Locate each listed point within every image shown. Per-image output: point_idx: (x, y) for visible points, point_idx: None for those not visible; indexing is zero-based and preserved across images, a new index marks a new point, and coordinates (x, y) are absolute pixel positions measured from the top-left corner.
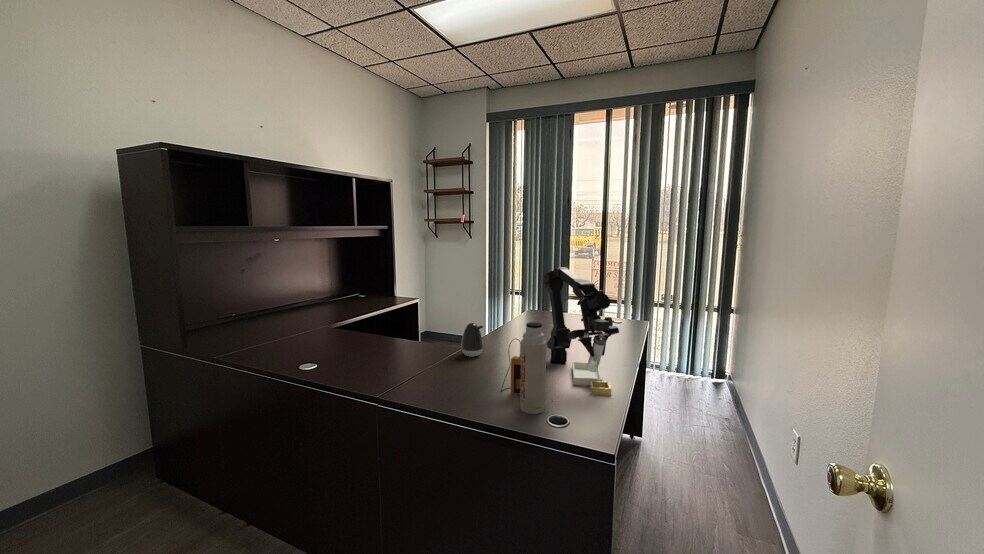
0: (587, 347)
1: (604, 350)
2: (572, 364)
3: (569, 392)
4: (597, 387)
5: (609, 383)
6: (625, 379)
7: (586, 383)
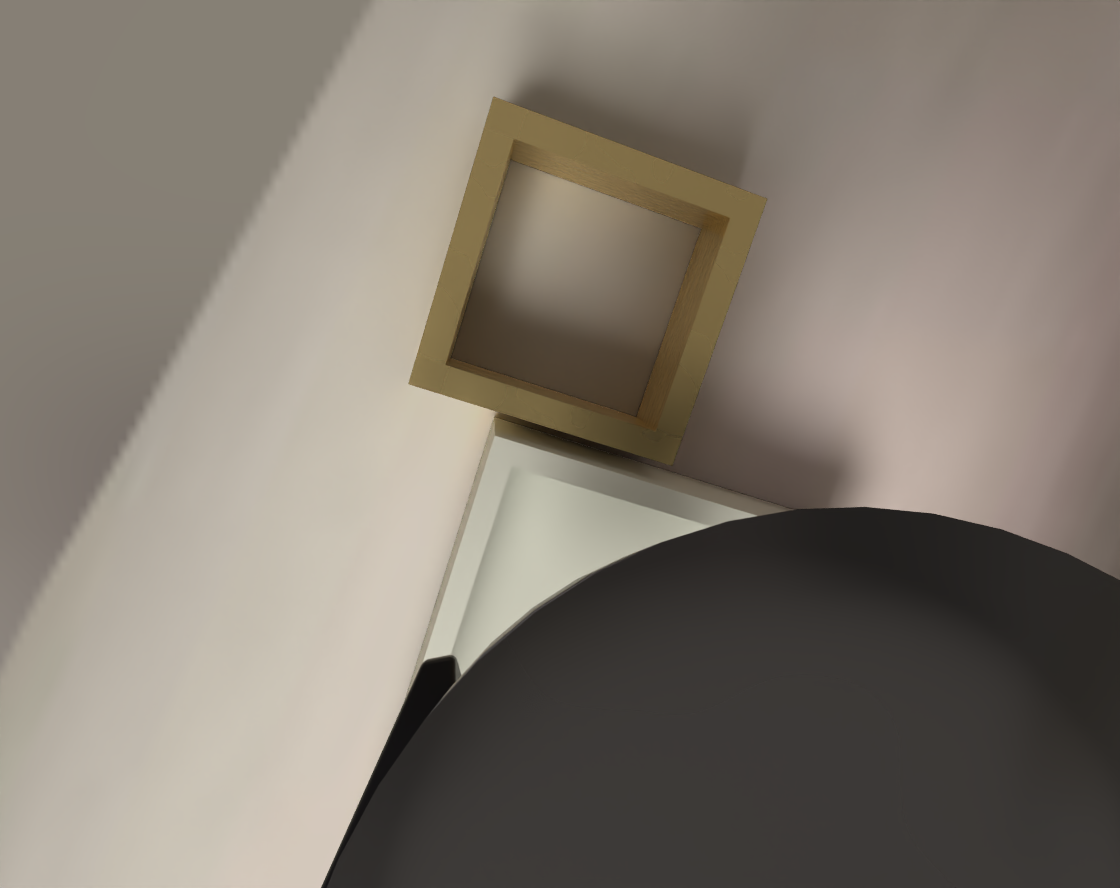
0: None
1: (393, 763)
2: None
3: (964, 315)
4: (676, 190)
5: (429, 316)
6: (50, 645)
7: (692, 483)
